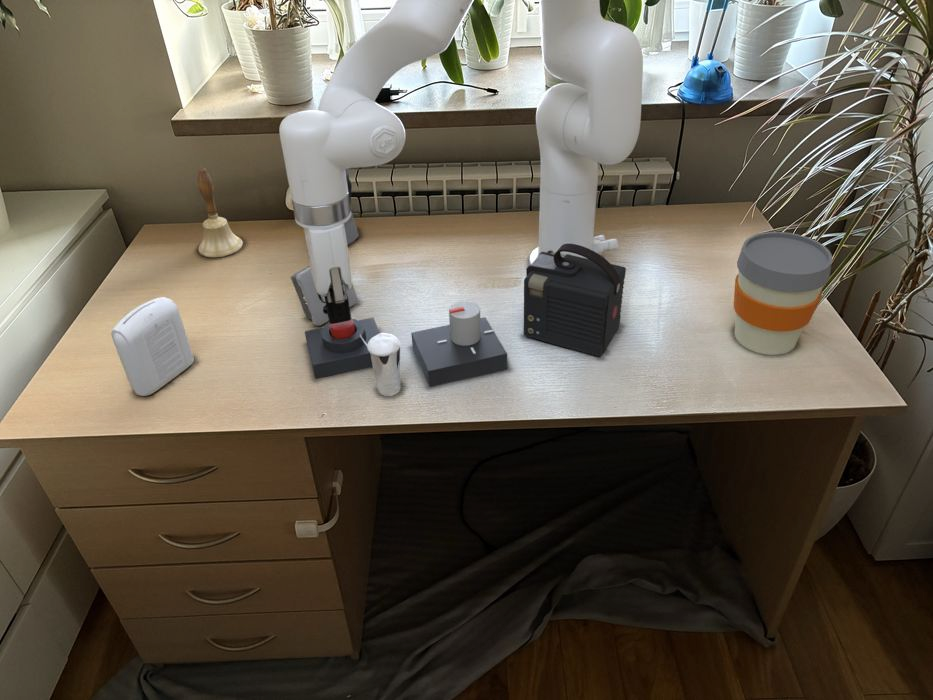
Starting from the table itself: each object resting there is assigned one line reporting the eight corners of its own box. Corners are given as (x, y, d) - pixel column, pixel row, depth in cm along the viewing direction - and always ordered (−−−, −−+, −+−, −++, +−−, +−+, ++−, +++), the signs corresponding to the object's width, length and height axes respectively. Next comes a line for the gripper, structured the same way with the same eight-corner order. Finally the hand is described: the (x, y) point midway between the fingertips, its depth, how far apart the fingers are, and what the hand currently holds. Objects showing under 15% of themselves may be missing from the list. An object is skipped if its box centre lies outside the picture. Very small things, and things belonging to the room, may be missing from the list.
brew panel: (485, 331, 119) (484, 314, 117) (507, 369, 111) (507, 352, 109) (411, 346, 116) (410, 330, 114) (429, 387, 108) (427, 370, 106)
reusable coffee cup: (808, 369, 108) (835, 281, 99) (718, 353, 112) (737, 267, 103) (808, 321, 118) (833, 237, 109) (726, 308, 121) (743, 226, 112)
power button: (352, 323, 114) (351, 314, 113) (357, 336, 112) (355, 327, 111) (329, 328, 114) (327, 318, 113) (333, 341, 111) (331, 332, 110)
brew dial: (475, 325, 115) (474, 296, 112) (485, 342, 111) (484, 312, 108) (446, 331, 114) (444, 302, 111) (455, 348, 110) (454, 319, 107)
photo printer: (179, 353, 117) (157, 286, 109) (199, 361, 115) (178, 293, 108) (127, 392, 110) (99, 323, 102) (148, 400, 108) (121, 331, 100)
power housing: (375, 330, 120) (372, 307, 117) (387, 363, 113) (384, 339, 110) (307, 344, 117) (302, 321, 115) (315, 379, 111) (310, 355, 108)
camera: (544, 302, 125) (547, 221, 116) (624, 322, 119) (634, 239, 110) (517, 337, 117) (517, 253, 108) (602, 360, 112) (610, 274, 103)
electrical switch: (318, 329, 121) (305, 278, 116) (297, 320, 124) (284, 271, 119) (359, 303, 127) (348, 253, 121) (338, 295, 129) (327, 247, 124)
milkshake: (368, 380, 110) (360, 325, 104) (404, 378, 110) (398, 322, 104) (367, 401, 106) (359, 345, 100) (405, 398, 106) (399, 342, 100)
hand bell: (235, 232, 148) (216, 156, 138) (248, 249, 142) (229, 171, 133) (193, 244, 145) (171, 166, 135) (205, 262, 139) (183, 182, 129)
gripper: (287, 188, 105) (307, 298, 116) (301, 237, 93) (322, 353, 105) (340, 180, 107) (355, 289, 118) (360, 227, 95) (374, 342, 106)
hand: (339, 319), depth 111 cm, fingers closed
